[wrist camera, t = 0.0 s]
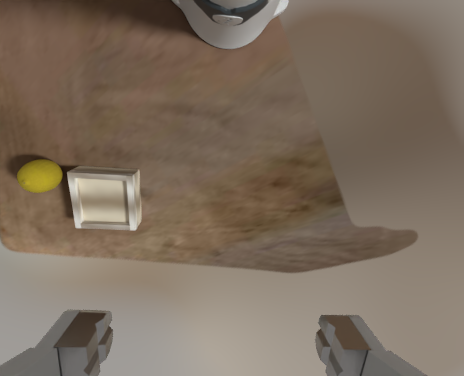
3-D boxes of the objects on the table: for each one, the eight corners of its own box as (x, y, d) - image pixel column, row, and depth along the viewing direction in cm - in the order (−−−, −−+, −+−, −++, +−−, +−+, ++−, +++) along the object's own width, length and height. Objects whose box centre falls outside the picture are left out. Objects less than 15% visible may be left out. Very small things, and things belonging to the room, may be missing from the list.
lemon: (77, 174, 46) (50, 189, 39) (54, 187, 47) (23, 204, 40) (57, 149, 45) (24, 160, 37) (33, 163, 45) (-4, 176, 38)
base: (79, 165, 46) (66, 172, 42) (139, 169, 47) (131, 176, 43) (87, 217, 50) (75, 227, 46) (141, 220, 50) (135, 230, 47)
